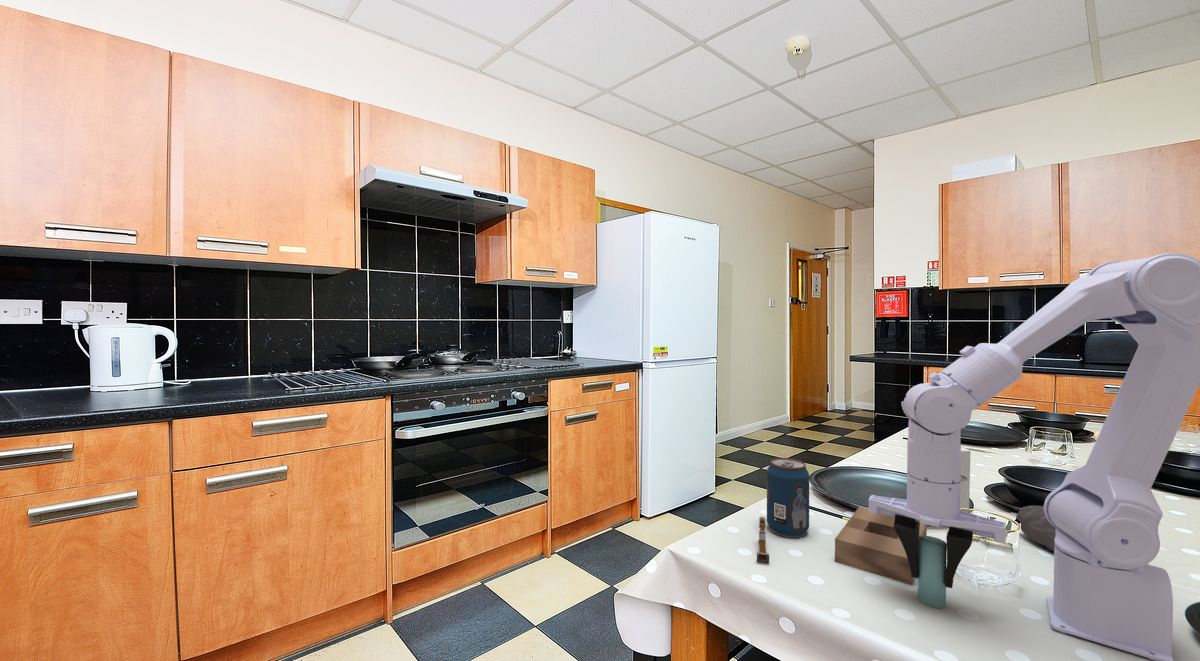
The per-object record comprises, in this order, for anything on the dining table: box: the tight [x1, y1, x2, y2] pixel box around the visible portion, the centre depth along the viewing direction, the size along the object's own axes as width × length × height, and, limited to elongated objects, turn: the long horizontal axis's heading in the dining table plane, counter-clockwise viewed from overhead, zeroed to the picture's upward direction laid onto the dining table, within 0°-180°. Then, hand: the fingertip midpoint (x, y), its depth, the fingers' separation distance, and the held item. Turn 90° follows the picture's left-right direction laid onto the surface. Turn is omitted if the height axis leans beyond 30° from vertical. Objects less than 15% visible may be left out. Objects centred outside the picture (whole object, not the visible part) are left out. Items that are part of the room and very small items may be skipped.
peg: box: [917, 535, 947, 609], centre depth 62 cm, size 3×3×8 cm
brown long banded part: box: [756, 516, 770, 563], centre depth 76 cm, size 2×8×4 cm, turn 162°
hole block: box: [834, 506, 928, 585], centre depth 76 cm, size 10×16×4 cm, turn 140°
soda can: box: [766, 457, 810, 539], centre depth 83 cm, size 7×7×12 cm
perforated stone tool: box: [1015, 505, 1056, 553], centre depth 74 cm, size 15×5×7 cm, turn 6°
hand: (931, 579), depth 62 cm, fingers closed on peg, 3 cm apart
